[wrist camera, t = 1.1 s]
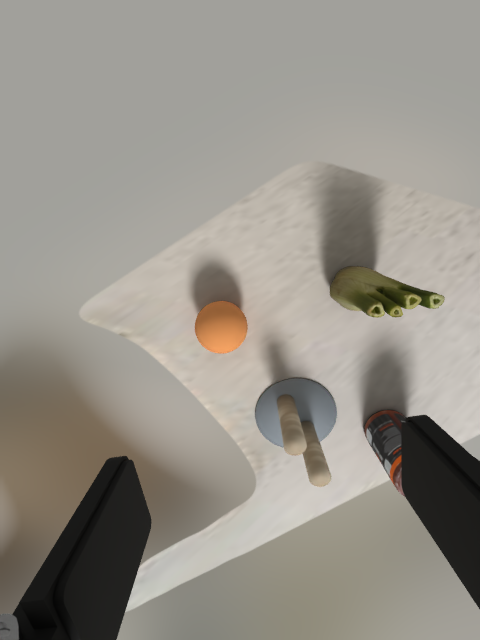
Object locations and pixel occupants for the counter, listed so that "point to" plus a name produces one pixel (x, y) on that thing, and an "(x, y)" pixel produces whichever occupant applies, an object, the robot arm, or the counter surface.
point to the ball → (221, 327)
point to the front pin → (290, 426)
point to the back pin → (315, 457)
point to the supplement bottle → (387, 442)
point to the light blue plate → (309, 403)
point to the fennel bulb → (378, 293)
